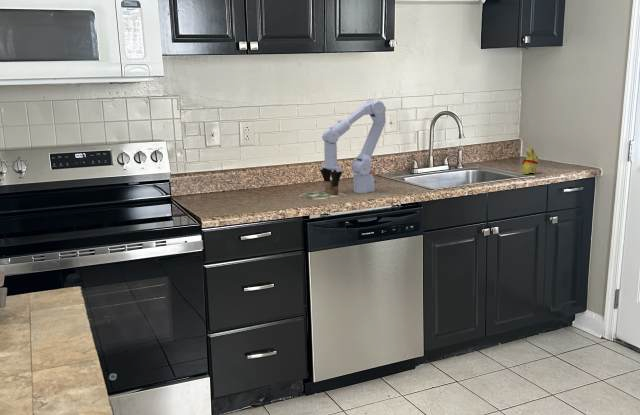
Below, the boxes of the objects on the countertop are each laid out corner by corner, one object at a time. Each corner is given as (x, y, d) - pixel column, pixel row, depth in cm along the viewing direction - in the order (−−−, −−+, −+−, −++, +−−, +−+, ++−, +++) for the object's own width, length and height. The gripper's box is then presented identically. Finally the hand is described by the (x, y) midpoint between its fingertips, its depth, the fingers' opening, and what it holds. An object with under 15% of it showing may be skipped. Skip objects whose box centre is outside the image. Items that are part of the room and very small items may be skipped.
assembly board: (332, 193, 304) (332, 188, 303) (348, 197, 292) (347, 192, 291) (299, 197, 295) (298, 192, 295) (313, 202, 283) (313, 197, 283)
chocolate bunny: (540, 173, 342) (541, 145, 339) (527, 175, 336) (528, 147, 333) (530, 172, 347) (531, 144, 344) (516, 174, 342) (517, 146, 339)
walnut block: (333, 192, 298) (333, 180, 297) (338, 194, 295) (338, 181, 293) (325, 194, 296) (324, 181, 295) (330, 195, 292) (329, 182, 291)
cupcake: (356, 181, 333) (356, 159, 331) (371, 180, 336) (370, 157, 334) (363, 184, 326) (362, 161, 323) (378, 182, 328) (378, 159, 326)
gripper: (315, 155, 296) (316, 184, 299) (331, 158, 284) (331, 188, 286) (328, 154, 300) (329, 182, 302) (344, 157, 287) (345, 186, 290)
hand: (331, 185), depth 295 cm, fingers open, 7 cm apart
